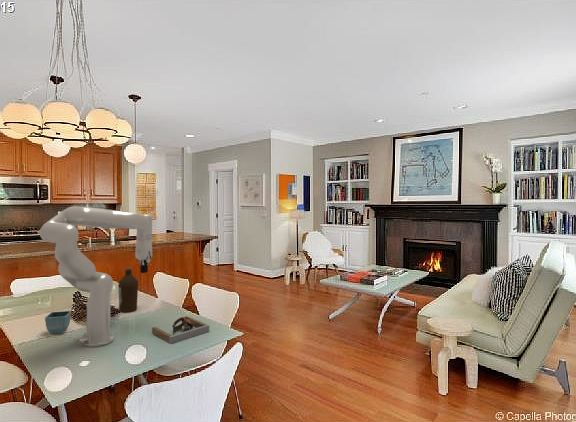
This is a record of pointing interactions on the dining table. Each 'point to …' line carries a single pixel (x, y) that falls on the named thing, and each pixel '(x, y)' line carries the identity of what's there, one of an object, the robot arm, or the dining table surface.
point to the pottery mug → (182, 324)
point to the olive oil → (128, 292)
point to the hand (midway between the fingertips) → (144, 272)
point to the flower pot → (58, 322)
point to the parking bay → (171, 339)
